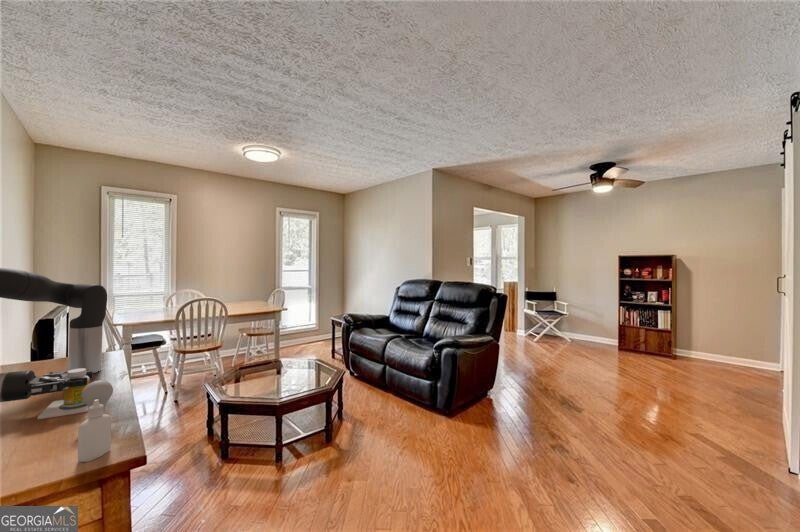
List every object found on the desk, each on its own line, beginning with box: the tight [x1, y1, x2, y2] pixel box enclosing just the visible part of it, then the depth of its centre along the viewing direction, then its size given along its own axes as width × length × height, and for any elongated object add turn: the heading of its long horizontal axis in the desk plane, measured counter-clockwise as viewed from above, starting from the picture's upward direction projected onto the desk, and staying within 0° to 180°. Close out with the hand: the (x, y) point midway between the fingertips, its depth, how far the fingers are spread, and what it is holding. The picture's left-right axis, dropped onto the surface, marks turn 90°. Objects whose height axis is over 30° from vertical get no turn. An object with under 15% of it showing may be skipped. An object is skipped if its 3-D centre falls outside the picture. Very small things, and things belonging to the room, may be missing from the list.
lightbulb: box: [82, 379, 114, 414], centre depth 88 cm, size 6×6×11 cm
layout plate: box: [37, 399, 89, 420], centre depth 98 cm, size 12×13×1 cm
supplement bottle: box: [63, 368, 91, 407], centre depth 97 cm, size 5×5×10 cm
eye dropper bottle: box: [77, 399, 112, 463], centre depth 73 cm, size 4×6×12 cm
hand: (89, 377), depth 99 cm, fingers open, 5 cm apart
